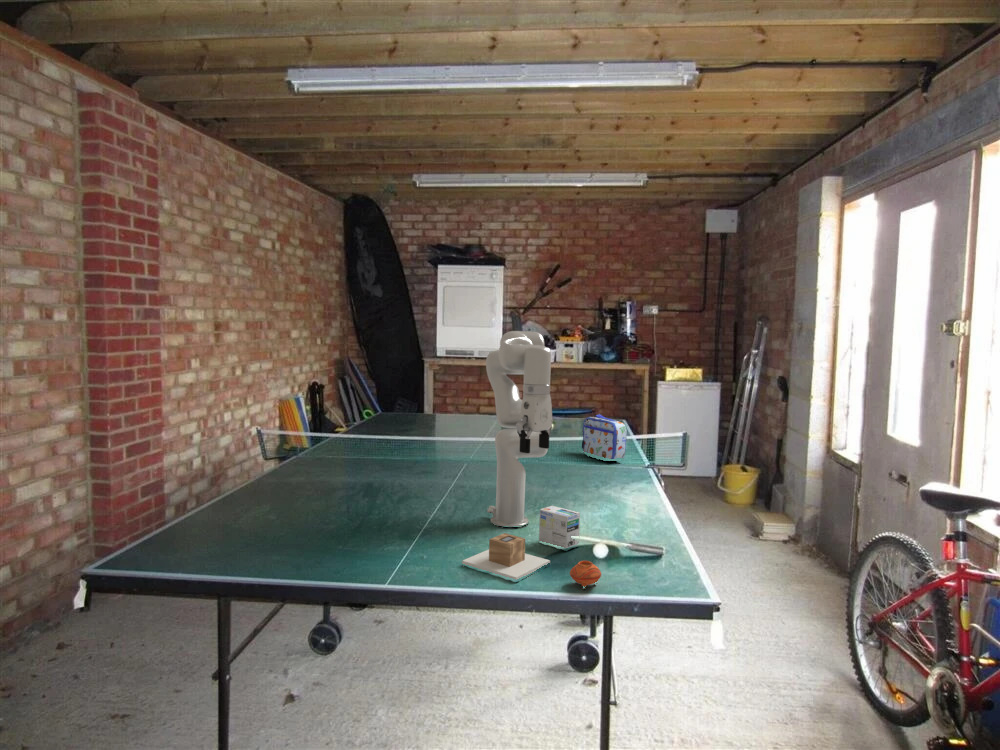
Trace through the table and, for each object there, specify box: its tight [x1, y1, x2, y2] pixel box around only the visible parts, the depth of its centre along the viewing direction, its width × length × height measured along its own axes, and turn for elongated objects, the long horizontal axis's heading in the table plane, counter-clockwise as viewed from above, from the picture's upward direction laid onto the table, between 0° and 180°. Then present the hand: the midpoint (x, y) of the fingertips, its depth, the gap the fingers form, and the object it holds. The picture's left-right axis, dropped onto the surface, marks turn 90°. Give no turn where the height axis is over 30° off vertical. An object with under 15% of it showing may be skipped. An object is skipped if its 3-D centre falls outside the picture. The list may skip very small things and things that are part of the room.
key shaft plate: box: [461, 537, 551, 580], centre depth 177 cm, size 18×16×8 cm
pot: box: [569, 560, 602, 587], centre depth 165 cm, size 8×8×7 cm
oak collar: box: [488, 532, 526, 567], centre depth 177 cm, size 7×7×6 cm
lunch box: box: [581, 414, 628, 459], centre depth 325 cm, size 28×10×22 cm, turn 30°
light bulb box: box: [538, 505, 581, 548], centre depth 194 cm, size 11×7×11 cm, turn 48°
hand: (534, 450), depth 184 cm, fingers open, 9 cm apart
